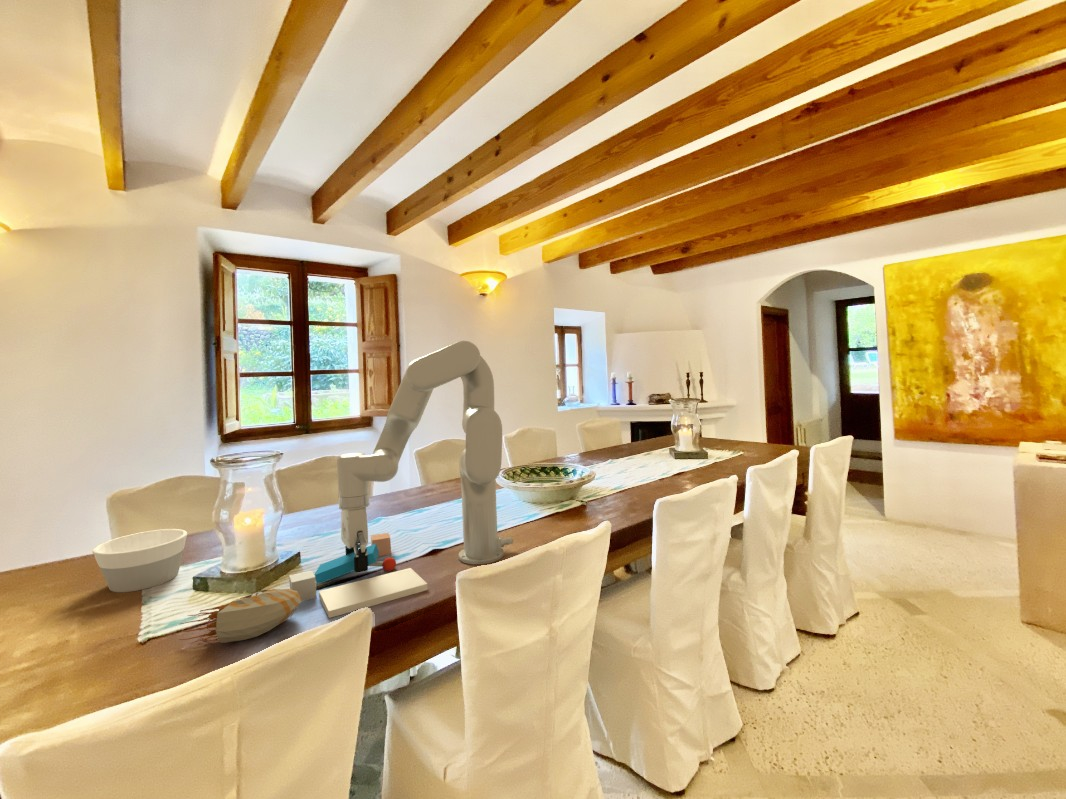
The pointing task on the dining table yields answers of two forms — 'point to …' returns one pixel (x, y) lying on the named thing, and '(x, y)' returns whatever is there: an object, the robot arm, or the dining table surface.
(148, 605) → the dining table surface
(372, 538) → the terracotta block
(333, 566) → the lever
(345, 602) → the board
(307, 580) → the grey block
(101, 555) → the bowl
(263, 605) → the nautilus
